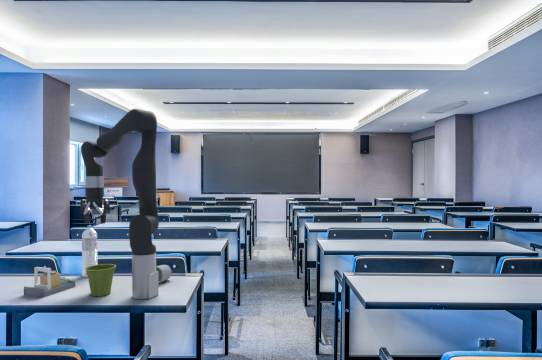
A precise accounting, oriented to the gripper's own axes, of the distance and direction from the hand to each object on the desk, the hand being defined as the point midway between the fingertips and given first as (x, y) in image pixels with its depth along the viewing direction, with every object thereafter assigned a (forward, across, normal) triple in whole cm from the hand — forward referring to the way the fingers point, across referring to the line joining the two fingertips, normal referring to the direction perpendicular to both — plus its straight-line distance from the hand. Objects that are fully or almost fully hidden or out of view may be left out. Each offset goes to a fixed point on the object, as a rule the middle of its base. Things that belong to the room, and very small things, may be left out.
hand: (95, 223), depth 165 cm
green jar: (+27, -12, -8) cm, 31 cm away
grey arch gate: (+27, -12, -17) cm, 34 cm away
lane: (+28, -12, -13) cm, 33 cm away
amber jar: (+27, -12, -13) cm, 32 cm away
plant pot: (+28, +11, -9) cm, 31 cm away
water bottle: (+28, -15, +12) cm, 34 cm away
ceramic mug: (+28, +22, +14) cm, 39 cm away
